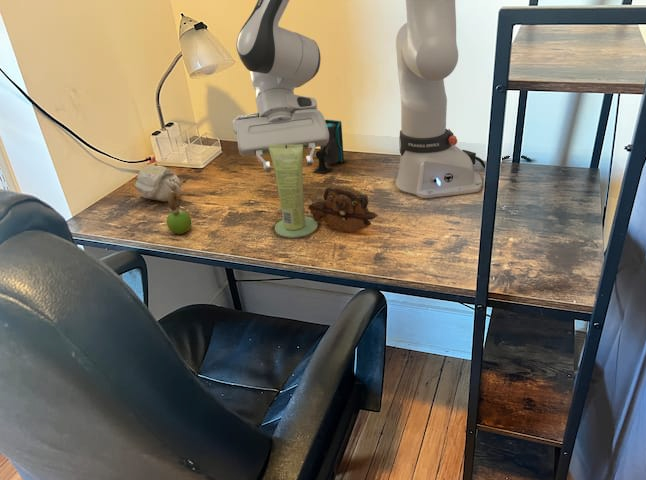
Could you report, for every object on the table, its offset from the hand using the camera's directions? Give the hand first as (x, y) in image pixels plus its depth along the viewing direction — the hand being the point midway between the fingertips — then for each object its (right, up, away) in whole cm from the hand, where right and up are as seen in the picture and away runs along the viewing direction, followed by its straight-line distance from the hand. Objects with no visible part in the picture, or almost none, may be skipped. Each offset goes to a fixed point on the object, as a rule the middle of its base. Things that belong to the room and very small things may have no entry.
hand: (289, 167), depth 117 cm
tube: (+1, -12, +7) cm, 14 cm away
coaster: (+1, -13, +7) cm, 14 cm away
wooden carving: (+12, -13, +5) cm, 18 cm away
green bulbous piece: (-26, -13, +8) cm, 31 cm away
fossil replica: (-37, -3, +25) cm, 45 cm away
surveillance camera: (+6, +7, +37) cm, 38 cm away
